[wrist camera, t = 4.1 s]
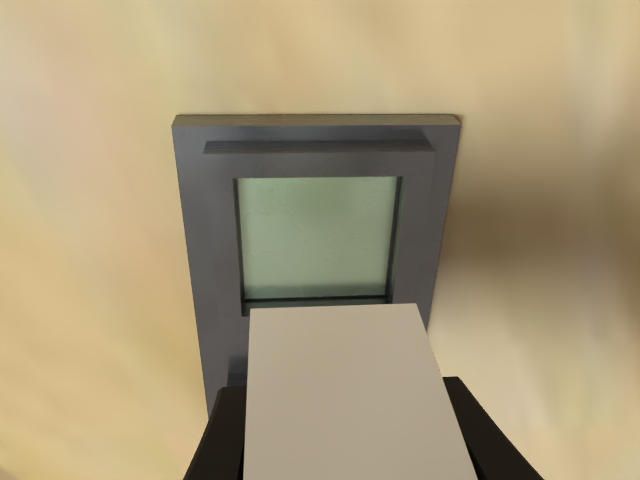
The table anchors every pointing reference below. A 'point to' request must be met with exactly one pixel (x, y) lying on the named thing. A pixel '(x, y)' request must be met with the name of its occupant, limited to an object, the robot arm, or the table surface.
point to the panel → (307, 218)
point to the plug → (348, 397)
